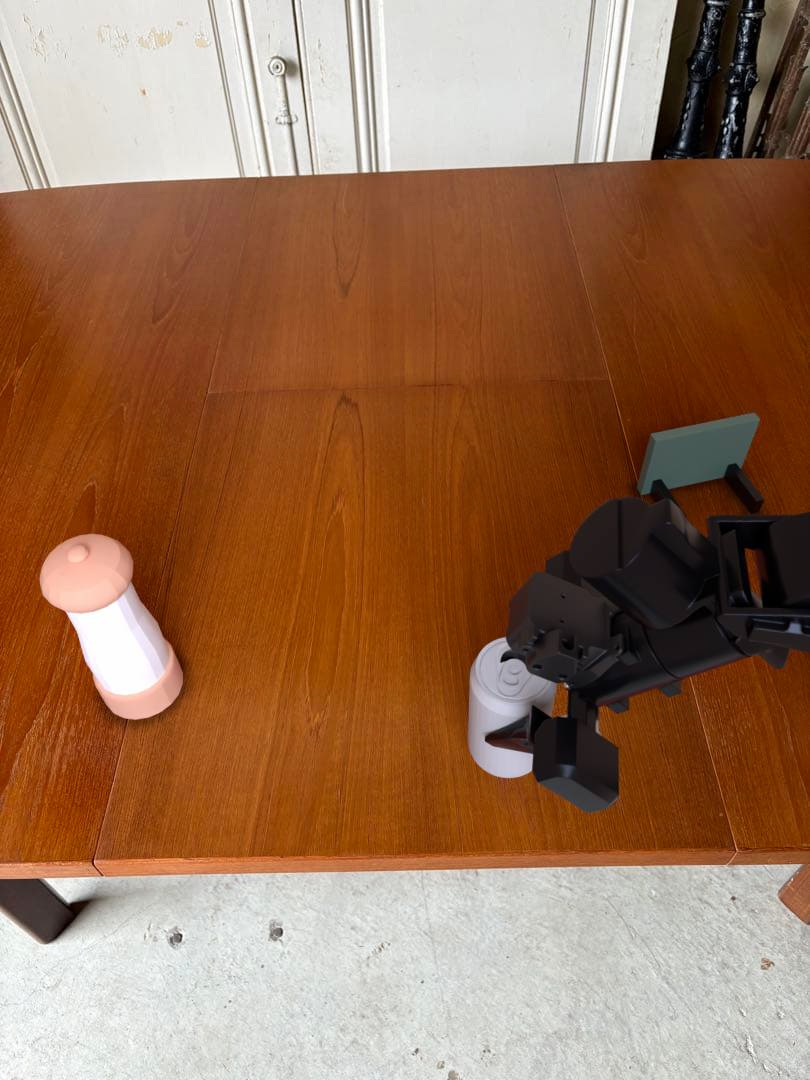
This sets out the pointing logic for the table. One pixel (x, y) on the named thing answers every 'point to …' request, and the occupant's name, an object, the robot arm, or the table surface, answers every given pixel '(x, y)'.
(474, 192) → the table surface
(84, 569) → the pepper shaker
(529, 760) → the beverage can
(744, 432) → the rack bay
